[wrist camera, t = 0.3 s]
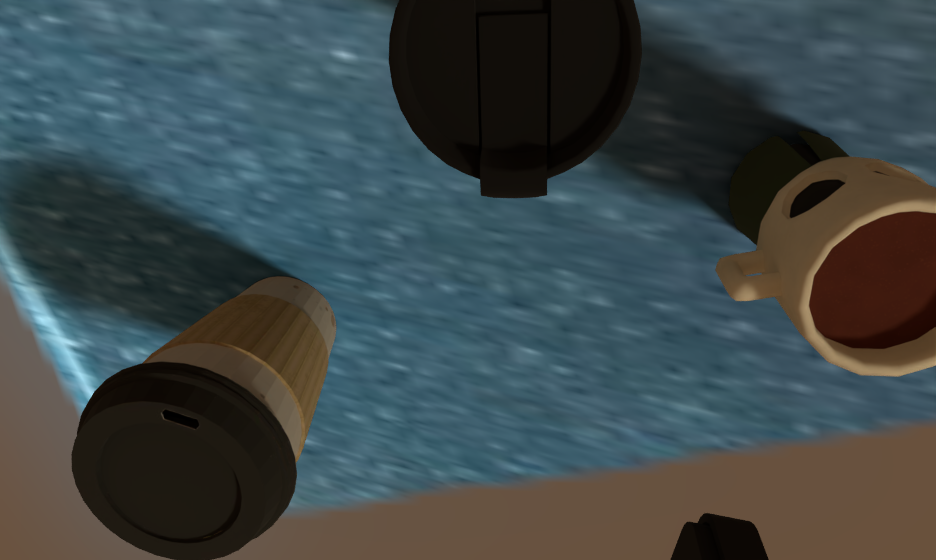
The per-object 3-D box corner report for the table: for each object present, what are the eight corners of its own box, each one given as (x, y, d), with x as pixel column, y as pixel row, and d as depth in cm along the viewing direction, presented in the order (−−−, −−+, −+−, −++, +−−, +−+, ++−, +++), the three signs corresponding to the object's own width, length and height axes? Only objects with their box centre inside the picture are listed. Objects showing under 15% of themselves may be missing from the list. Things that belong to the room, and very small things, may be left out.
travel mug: (469, 84, 36) (393, 204, 18) (463, -57, 34) (368, -82, 16) (591, 81, 36) (639, 201, 18) (596, -63, 33) (656, -98, 15)
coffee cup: (198, 361, 45) (48, 532, 32) (223, 225, 41) (63, 353, 27) (344, 409, 46) (258, 599, 32) (383, 279, 42) (304, 433, 28)
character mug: (899, 98, 35) (1082, 167, 23) (898, 232, 37) (1061, 356, 26) (672, 143, 37) (733, 228, 25) (687, 267, 39) (748, 397, 27)
